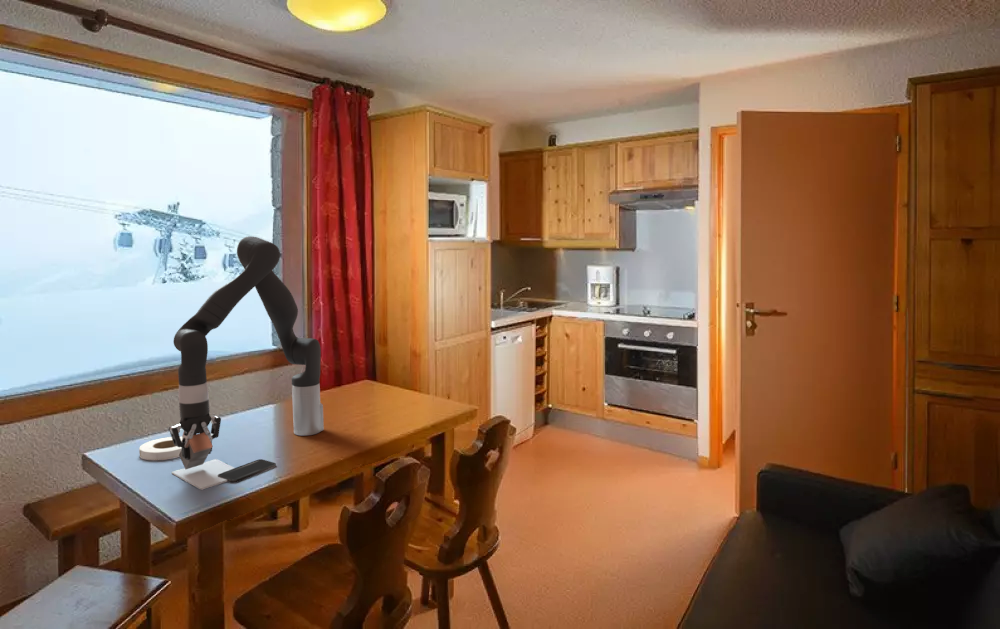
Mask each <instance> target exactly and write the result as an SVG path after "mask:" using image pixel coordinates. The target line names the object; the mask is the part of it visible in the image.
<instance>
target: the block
mask: <svg viewBox="0 0 1000 629" xmlns="http://www.w3.org/2000/svg"><path fill="white" fill-rule="evenodd" d="M188 447H190V460H186V459H185V458H183V457H182V450H181V452H180V454H179V456H180V457H179V458H180V460H181V463H182V465H183V468H185V470H186V469H189V468H192V467H196V466H199V465H202V464H203V463H204V462H206V460H207V458H208V456H209V455H210V454H209V452H210V450H211V449H212V450H213V442H212V443H211V441H210V439H209V437H208V435H207V436H206V434H205V433H204V432H203V433H197V434H196V435H193V437H192V439H191V440H189V446H188Z"/></svg>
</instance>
